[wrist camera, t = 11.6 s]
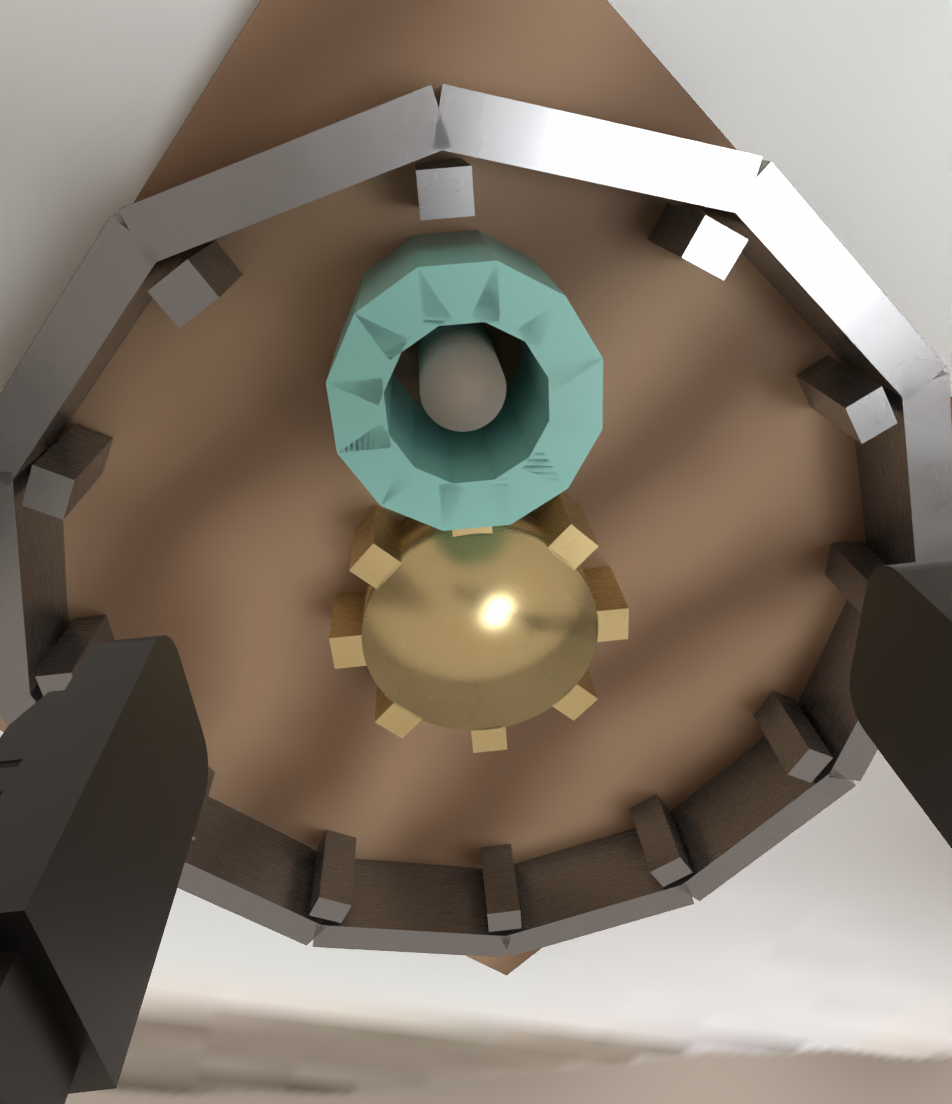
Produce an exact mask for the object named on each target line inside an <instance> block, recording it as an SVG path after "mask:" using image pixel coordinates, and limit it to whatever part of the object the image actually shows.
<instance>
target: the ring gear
mask: <svg viewBox="0 0 952 1104" xmlns="http://www.w3.org/2000/svg"><path fill="white" fill-rule="evenodd" d="M442 150H444V151H448V152H453V153H458V154H462V155H467V156H472V157H476V158H481V159H486V160H490V161H495V162H500V163H504V164H509V165H514V166H518V167H523V168H528V169H533V170H537V171H542V172H547V173H551V174H556V175H561V176H565V177H570V178H575V179H579V180H584V181H589V182H593V183H598V184H603V185H608V186H612V187H617V188H622V189H626V190H631V191H636V192H640V193H645V194H650V195H654V196H659V197H664V198H668V199H673V200H678V201H682V202H687V203H692V204H697V205H698V206H699V207H700V208H701V209H702V210H703V211H704V212H705V213H706V214H707V215H708V216H709V217H708V216H706V215H703V214H700V213H697V212H694V211H691V210H688V209H685V208H682V207H679V206H676V205H673V204H670V203H667V205H666V206H665V208H664V210H663V212H662V214H661V216H660V217H659V219H658V221H657V223H656V225H655V227H654V228H653V230H652V232H651V234H650V236H649V238H648V239H647V240H648V241H650V242H652V243H654V244H656V245H657V246H659V247H661V248H663V249H665V250H667V251H668V252H670V253H672V254H674V255H676V256H678V257H679V258H681V259H683V260H685V261H687V262H689V263H691V264H693V265H695V266H696V267H698V268H700V269H702V270H704V271H706V272H708V273H710V274H712V275H714V276H716V277H718V278H720V279H722V280H723V281H724V280H725V278H726V277H727V275H728V273H729V272H730V270H731V268H732V266H733V265H734V263H735V261H736V260H737V258H738V256H739V255H740V253H741V252H742V253H743V254H744V255H745V256H746V258H747V259H748V260H749V261H750V262H751V263H752V264H753V265H754V266H755V267H756V268H757V269H758V271H759V272H760V273H761V274H762V275H763V276H764V277H765V278H766V279H767V280H768V281H769V282H770V284H771V285H772V286H773V287H774V288H775V289H776V290H777V291H778V292H779V293H780V294H781V295H782V297H783V298H784V299H785V300H786V301H787V302H788V303H789V304H790V305H791V306H792V307H793V308H794V309H795V311H796V312H797V313H798V314H799V315H800V316H801V317H802V318H803V319H804V320H805V321H806V322H807V324H808V325H809V326H810V327H811V328H812V329H813V330H814V331H815V332H816V333H817V334H818V335H819V337H820V338H821V339H822V340H823V341H824V342H825V343H826V344H827V345H828V346H829V347H830V348H831V350H832V351H833V352H834V353H835V354H836V355H837V356H838V357H839V358H840V359H841V360H842V361H843V363H844V364H845V365H844V364H842V363H840V362H839V361H837V360H835V359H833V358H832V357H830V356H828V355H827V356H825V357H824V358H822V359H821V360H819V361H817V362H816V363H814V364H813V365H811V366H809V367H808V368H806V369H805V370H803V371H801V372H800V373H798V374H796V377H797V379H798V381H799V383H800V385H801V387H802V389H803V391H804V394H805V396H806V398H807V400H808V402H809V404H810V406H811V408H812V409H814V410H815V411H817V412H818V413H819V414H821V415H822V416H823V417H825V418H826V419H828V420H829V421H830V422H832V423H833V424H835V425H836V426H837V427H839V428H840V429H841V430H843V431H844V432H846V433H847V434H848V435H850V436H851V437H853V438H854V439H855V448H856V456H857V465H858V474H859V482H860V491H861V500H862V509H863V517H864V526H865V535H866V543H867V546H866V545H865V544H864V543H863V542H862V541H861V540H858V541H848V542H837V543H830V548H829V555H828V561H827V567H826V573H825V575H826V577H827V578H828V579H829V580H830V581H831V582H832V583H833V584H834V585H835V586H836V588H837V589H838V590H839V591H840V592H841V593H842V594H843V595H844V596H845V597H846V599H847V600H846V602H845V604H844V607H843V609H842V611H841V613H840V615H839V617H838V619H837V621H836V623H835V625H834V628H833V630H832V632H831V634H830V636H829V638H828V640H827V642H826V644H825V646H824V649H823V651H822V653H821V655H820V657H819V659H818V661H817V663H816V665H815V667H814V670H813V672H812V674H811V676H810V678H809V680H808V682H807V684H806V686H805V688H804V691H803V693H802V695H801V697H800V699H799V701H798V703H797V702H796V701H795V699H792V698H790V697H787V696H784V695H782V694H779V693H777V692H774V691H772V692H771V694H770V695H769V696H768V697H767V699H766V700H765V701H764V702H763V704H762V705H761V706H760V707H759V709H758V710H757V711H756V712H755V714H754V715H753V716H754V717H755V719H756V721H757V722H758V724H759V726H760V728H761V729H762V731H763V733H764V735H765V736H764V737H763V738H762V739H761V740H759V741H758V742H757V743H756V744H754V745H753V746H752V747H751V748H749V749H748V750H747V751H746V752H744V753H743V754H742V755H741V756H739V757H738V758H737V759H736V760H734V761H733V762H732V763H731V764H729V765H728V766H727V767H726V768H724V769H723V770H722V771H721V772H719V773H718V774H717V775H716V776H714V777H713V778H712V779H711V780H709V781H708V782H707V783H706V784H704V785H703V786H702V787H701V788H699V789H698V790H697V791H696V792H694V793H693V794H692V795H691V796H689V797H688V798H687V799H686V800H684V801H683V802H682V803H681V804H679V805H678V806H677V807H676V808H674V809H673V810H672V811H671V812H670V811H669V809H668V807H667V806H666V805H665V804H664V802H663V801H662V800H661V799H660V797H659V796H658V795H657V794H656V795H654V796H652V797H650V798H648V799H646V800H644V801H642V802H640V803H638V804H636V805H634V806H633V807H631V808H630V811H631V814H632V817H633V820H634V823H635V826H636V828H633V829H629V830H626V831H623V832H619V833H616V834H613V835H609V836H606V837H603V838H599V839H596V840H593V841H589V842H586V843H583V844H579V845H576V846H573V847H569V848H566V849H563V850H559V851H556V852H553V853H549V854H546V855H543V856H539V857H536V858H533V859H529V860H526V861H523V862H519V863H516V864H514V862H513V855H512V848H511V844H505V845H496V846H487V847H481V857H482V868H477V867H464V866H450V865H436V864H422V863H409V862H395V861H381V860H367V859H355V853H356V839H357V838H356V837H352V836H348V835H345V834H341V833H337V832H334V831H330V830H326V832H325V834H324V836H323V838H322V839H321V841H320V843H319V845H318V847H317V850H315V849H313V848H311V847H309V846H307V845H305V844H303V843H301V842H299V841H297V840H295V839H293V838H291V837H289V836H287V835H285V834H283V833H281V832H279V831H277V830H275V829H273V828H271V827H269V826H267V825H265V824H263V823H261V822H259V821H257V820H255V819H253V818H251V817H249V816H247V815H245V814H243V813H241V812H239V811H237V810H235V809H233V808H231V807H229V806H227V805H225V804H223V803H221V802H219V801H217V800H215V799H213V798H211V797H209V796H208V795H209V792H210V788H211V785H212V782H213V778H214V775H215V771H214V770H212V769H211V768H210V767H209V766H208V782H207V789H206V794H205V798H204V801H203V804H202V808H201V811H200V814H199V818H198V821H197V824H196V827H195V831H194V834H193V837H192V841H191V844H190V847H189V850H188V854H187V857H186V860H185V864H184V867H183V870H182V873H181V877H180V880H179V883H178V887H177V888H180V889H182V890H184V891H186V892H188V893H191V894H193V895H195V896H197V897H200V898H202V899H204V900H206V901H209V902H211V903H213V904H215V905H218V906H220V907H222V908H224V909H226V910H229V911H231V912H233V913H235V914H238V915H240V916H242V917H244V918H247V919H249V920H251V921H253V922H255V923H258V924H260V925H262V926H264V927H267V928H269V929H271V930H273V931H276V932H278V933H280V934H282V935H285V936H287V937H289V938H291V939H293V940H296V941H298V942H300V943H302V944H305V945H307V944H309V943H310V942H311V941H312V940H313V939H314V940H313V947H326V948H344V949H362V950H380V951H398V952H417V953H435V954H453V955H471V956H489V957H505V954H506V951H508V953H509V955H510V957H511V956H514V955H518V954H521V953H525V952H528V951H532V950H535V949H539V948H542V947H546V946H549V945H553V944H556V943H560V942H563V941H566V940H570V939H573V938H577V937H580V936H584V935H587V934H591V933H594V932H598V931H601V930H605V929H608V928H612V927H615V926H618V925H622V924H625V923H629V922H632V921H636V920H639V919H643V918H646V917H650V916H653V915H657V914H660V913H664V912H667V911H670V910H674V909H677V908H681V907H684V906H688V905H691V904H694V902H693V899H692V897H694V898H696V899H697V900H699V901H700V900H702V899H703V898H704V897H706V896H707V895H708V894H710V893H711V892H713V891H714V890H715V889H717V888H718V887H719V886H721V885H722V884H723V883H725V882H726V881H727V880H729V879H730V878H731V877H733V876H734V875H736V874H737V873H738V872H740V871H741V870H742V869H744V868H745V867H746V866H748V865H749V864H750V863H752V862H753V861H754V860H756V859H757V858H759V857H760V856H761V855H763V854H764V853H765V852H767V851H768V850H769V849H771V848H772V847H773V846H775V845H776V844H777V843H779V842H780V841H782V840H783V839H784V838H786V837H787V836H788V835H790V834H791V833H792V832H794V831H795V830H796V829H798V828H799V827H800V826H802V825H803V824H805V823H806V822H807V821H809V820H810V819H811V818H813V817H814V816H815V815H817V814H818V813H819V812H821V811H822V810H823V809H825V808H826V807H828V806H829V805H830V804H832V803H833V802H834V801H836V800H837V799H838V798H840V797H841V796H842V795H844V794H845V793H846V792H848V791H849V790H851V789H852V788H853V787H855V786H856V785H855V783H854V782H853V780H858V781H860V780H861V779H862V777H863V775H864V773H865V771H866V769H867V768H868V766H869V764H870V762H871V760H872V759H873V757H874V755H875V753H876V751H877V750H878V748H877V747H876V746H875V744H874V743H873V742H872V740H871V739H870V738H869V736H868V735H867V734H866V732H865V731H864V729H863V728H862V726H861V725H860V723H859V721H858V719H857V716H856V714H855V711H854V708H853V705H852V700H851V695H850V671H851V666H852V661H853V655H854V650H855V645H856V640H857V634H858V629H859V624H860V618H861V613H862V608H863V602H864V597H865V592H866V587H867V583H868V580H869V577H870V575H871V574H872V572H873V571H874V570H875V569H876V568H877V567H879V566H883V565H893V564H903V563H913V562H923V561H933V560H943V559H947V560H952V425H951V405H950V385H949V374H948V373H946V372H944V371H942V370H943V369H944V368H945V367H946V366H945V365H944V363H943V362H942V361H941V360H940V359H939V358H938V356H937V355H936V354H935V353H934V352H933V351H932V349H931V348H930V347H929V346H928V345H927V343H926V342H925V341H924V340H923V339H922V338H921V336H920V335H919V334H918V333H917V332H916V331H915V329H914V328H913V327H912V326H911V325H910V324H909V322H908V321H907V320H906V319H905V318H904V317H903V315H902V314H901V313H900V312H899V311H898V309H897V308H896V307H895V306H894V305H893V304H892V302H891V301H890V300H889V299H888V298H887V297H886V295H885V294H884V293H883V292H882V291H881V290H880V288H879V287H878V286H877V285H876V284H875V283H874V281H873V280H872V279H871V278H870V277H869V275H868V274H867V273H866V272H865V271H864V270H863V268H862V267H861V266H860V265H859V264H858V263H857V261H856V260H855V259H854V258H853V257H852V256H851V254H850V253H849V252H848V251H847V250H846V249H845V247H844V246H843V245H842V244H841V243H840V241H839V240H838V239H837V238H836V237H835V236H834V234H833V233H832V232H831V231H830V230H829V229H828V227H827V226H826V225H825V224H824V223H823V222H822V220H821V219H820V218H819V217H818V216H817V214H816V213H815V212H814V211H813V210H812V209H811V207H810V206H809V205H808V204H807V203H806V202H805V200H804V199H803V198H802V197H801V196H800V195H799V193H798V192H797V191H796V190H795V189H794V188H793V186H792V185H791V184H790V183H789V182H788V180H787V179H786V178H785V177H784V176H783V175H782V173H781V172H780V171H779V170H778V169H777V168H776V166H775V165H774V164H773V163H772V162H771V161H763V160H762V157H763V156H759V155H755V154H750V153H746V152H741V151H737V150H733V149H728V148H724V147H719V146H715V145H711V144H706V143H702V142H697V141H693V140H688V139H684V138H680V137H675V136H671V135H666V134H662V133H658V132H653V131H649V130H644V129H640V128H635V127H631V126H627V125H622V124H618V123H613V122H609V121H605V120H600V119H596V118H591V117H587V116H582V115H578V114H574V113H569V112H565V111H560V110H556V109H552V108H547V107H543V106H538V105H534V104H530V103H525V102H521V101H516V100H512V99H507V98H503V97H499V96H494V95H490V94H485V93H481V92H477V91H472V90H468V89H463V88H459V87H454V86H450V85H446V84H442V85H441V86H440V87H439V88H438V90H437V97H436V98H435V95H434V92H433V89H432V85H429V86H427V87H424V88H422V89H419V90H417V91H414V92H412V93H409V94H407V95H404V96H402V97H399V98H397V99H394V100H392V101H389V102H387V103H384V104H382V105H379V106H377V107H374V108H372V109H369V110H367V111H364V112H362V113H359V114H357V115H354V116H352V117H349V118H347V119H344V120H342V121H339V122H337V123H334V124H332V125H329V126H327V127H324V128H322V129H319V130H317V131H314V132H312V133H309V134H307V135H304V136H302V137H299V138H297V139H294V140H292V141H289V142H287V143H284V144H282V145H279V146H277V147H274V148H272V149H269V150H267V151H264V152H262V153H259V154H257V155H254V156H252V157H249V158H247V159H244V160H242V161H239V162H237V163H234V164H232V165H229V166H226V167H224V168H221V169H219V170H216V171H214V172H211V173H209V174H206V175H204V176H201V177H199V178H196V179H194V180H191V181H189V182H186V183H184V184H181V185H179V186H176V187H174V188H171V189H169V190H166V191H164V192H161V193H159V194H156V195H154V196H151V197H149V198H146V199H144V200H141V201H139V202H136V203H134V204H131V205H129V206H126V207H124V208H121V209H119V211H120V213H119V214H116V215H113V216H110V218H109V220H108V221H107V223H106V224H105V226H104V228H103V229H102V231H101V233H100V234H99V236H98V237H97V239H96V241H95V242H94V244H93V245H92V247H91V249H90V250H89V252H88V253H87V255H86V257H85V258H84V260H83V261H82V263H81V265H80V266H79V268H78V270H77V271H76V273H75V274H74V276H73V278H72V279H71V281H70V282H69V284H68V286H67V287H66V289H65V290H64V292H63V294H62V295H61V297H60V298H59V300H58V302H57V303H56V305H55V307H54V308H53V310H52V311H51V313H50V315H49V316H48V318H47V319H46V321H45V323H44V324H43V326H42V327H41V329H40V331H39V332H38V334H37V335H36V337H35V339H34V340H33V342H32V344H31V345H30V347H29V348H28V350H27V352H26V353H25V355H24V356H23V358H22V360H21V361H20V363H19V364H18V366H17V368H16V369H15V371H14V373H13V374H12V376H11V377H10V379H9V381H8V382H7V384H6V385H5V387H4V389H3V390H2V392H1V393H0V717H1V718H2V719H3V720H4V722H5V723H6V724H7V725H10V724H11V723H12V722H13V721H14V720H16V719H17V718H18V717H19V716H20V715H22V714H23V713H24V712H25V711H26V710H28V709H29V708H30V707H31V706H32V705H34V704H35V703H36V702H37V701H38V700H40V699H41V698H42V697H43V696H44V695H46V694H47V693H48V692H51V691H61V690H65V689H66V687H67V685H68V684H69V682H70V680H71V679H72V677H73V676H74V674H75V672H76V671H77V669H78V667H79V666H80V664H81V662H82V661H83V659H84V657H85V656H86V654H87V652H88V651H89V649H90V648H91V647H92V646H93V645H94V644H95V643H97V642H101V641H111V640H115V639H114V636H113V633H112V630H111V627H110V624H109V621H108V619H107V616H106V615H99V616H88V617H78V618H74V619H73V620H72V622H71V623H70V625H68V605H67V586H66V566H65V546H64V526H63V520H64V519H65V517H66V516H67V515H68V514H69V513H70V511H71V510H72V509H73V508H74V507H75V506H76V504H77V503H78V502H79V501H80V500H81V499H82V497H83V496H84V495H85V494H86V493H87V492H88V490H89V489H90V488H91V487H92V486H93V485H94V483H95V482H96V481H97V480H98V479H99V477H100V476H101V475H102V474H103V471H104V468H105V464H106V461H107V458H108V454H109V451H110V447H111V444H112V441H113V437H110V436H108V435H105V434H103V433H100V432H97V431H95V430H92V429H90V428H87V427H84V426H82V425H79V424H76V425H75V426H73V427H72V428H71V429H70V430H69V431H68V432H67V433H66V434H65V435H64V436H63V437H62V438H61V439H59V437H60V435H61V434H62V432H63V431H64V429H65V428H66V426H67V425H68V423H69V422H70V420H71V419H72V417H73V416H74V414H75V413H76V411H77V410H78V408H79V407H80V405H81V404H82V402H83V401H84V399H85V398H86V396H87V395H88V393H89V392H90V390H91V389H92V387H93V386H94V384H95V383H96V381H97V380H98V378H99V377H100V375H101V374H102V372H103V371H104V369H105V368H106V366H107V365H108V363H109V362H110V360H111V359H112V357H113V356H114V354H115V353H116V351H117V350H118V348H119V347H120V345H121V344H122V342H123V341H124V339H125V338H126V336H127V335H128V333H129V332H130V330H131V329H132V327H133V326H134V324H135V323H136V321H137V320H138V318H139V317H140V315H141V314H142V312H143V311H144V309H145V308H146V306H147V305H148V303H149V302H150V300H151V299H152V297H153V299H154V300H155V301H156V302H157V303H158V304H159V305H160V307H161V308H162V309H163V310H164V311H165V312H166V314H167V315H168V316H169V317H170V318H171V319H172V320H173V322H174V323H175V324H176V325H177V326H178V327H179V328H181V327H182V326H183V325H185V324H186V323H187V322H188V321H190V320H191V319H192V318H194V317H195V316H196V315H197V314H199V313H200V312H201V311H203V310H204V309H205V308H207V307H208V306H209V305H210V304H212V303H213V302H214V301H216V300H217V299H218V298H219V297H220V296H221V295H222V294H224V293H225V292H226V291H227V290H228V289H229V288H230V287H231V286H232V285H233V284H234V283H235V282H236V281H237V280H238V279H239V278H240V277H241V276H242V275H243V274H242V272H241V271H240V270H239V269H238V267H237V266H236V265H235V264H234V262H233V261H232V260H231V259H230V257H229V256H228V255H227V254H226V252H225V251H224V250H223V249H222V247H221V246H220V245H219V244H218V242H217V241H215V242H213V243H212V244H210V245H209V246H207V247H206V248H204V249H202V250H201V251H199V252H198V253H196V254H195V255H193V256H192V257H190V258H189V259H187V260H186V261H185V262H183V263H182V264H181V265H180V266H178V267H177V268H176V269H175V270H173V271H172V272H171V273H170V274H168V273H169V272H170V270H171V269H172V267H173V266H174V264H175V263H176V261H177V260H178V258H179V257H180V255H181V254H182V252H183V251H186V250H188V249H191V248H193V247H196V246H198V245H201V244H204V243H206V242H209V241H211V240H214V239H216V238H219V237H222V236H224V235H227V234H229V233H232V232H234V231H237V230H239V229H242V228H245V227H247V226H250V225H252V224H255V223H257V222H260V221H262V220H265V219H268V218H270V217H273V216H275V215H278V214H280V213H283V212H285V211H288V210H291V209H293V208H296V207H298V206H301V205H303V204H306V203H309V202H311V201H314V200H316V199H319V198H321V197H324V196H326V195H329V194H332V193H334V192H337V191H339V190H342V189H344V188H347V187H349V186H352V185H355V184H357V183H360V182H362V181H365V180H367V179H370V178H373V177H375V176H378V175H380V174H383V173H385V172H388V171H390V170H393V169H396V168H398V167H401V166H403V165H406V164H408V163H411V162H413V161H416V160H419V159H421V158H424V157H426V156H429V155H431V154H434V153H436V152H439V151H442ZM415 172H416V182H417V193H418V203H419V212H420V220H432V219H444V218H456V217H468V216H475V210H474V195H473V179H472V166H471V165H470V164H469V163H467V162H466V161H465V160H463V159H459V160H447V161H435V162H423V163H415Z"/></svg>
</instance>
